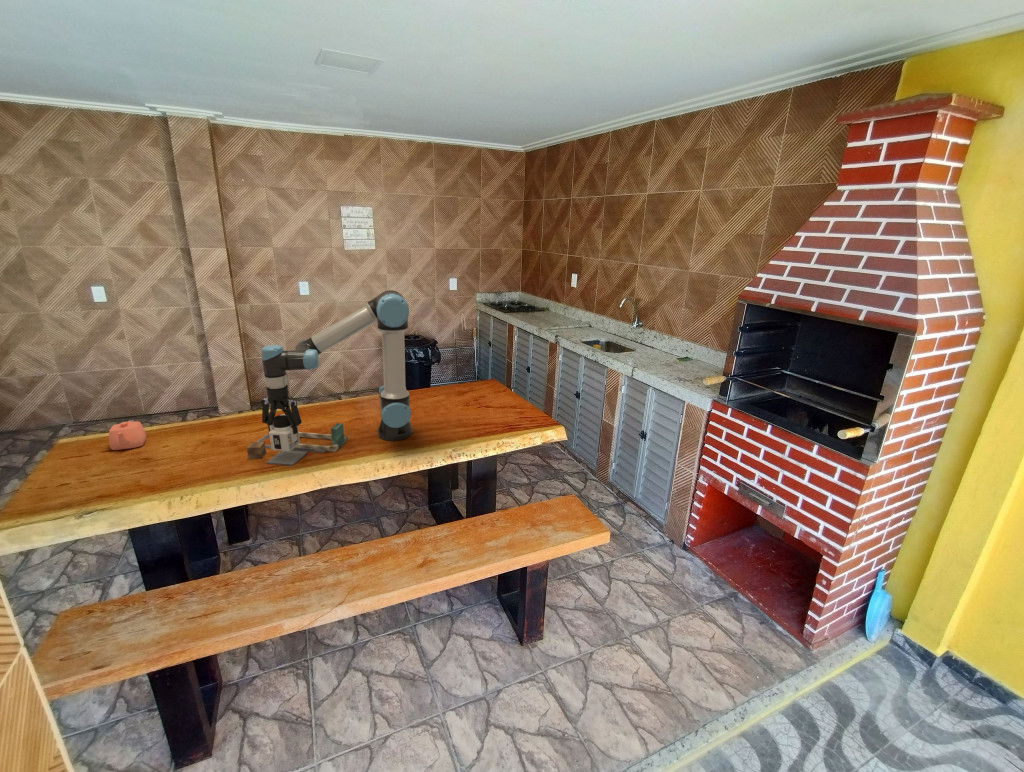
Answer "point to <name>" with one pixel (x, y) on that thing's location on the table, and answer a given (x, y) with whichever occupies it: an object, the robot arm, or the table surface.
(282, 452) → the coaster
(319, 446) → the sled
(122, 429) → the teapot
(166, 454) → the table surface
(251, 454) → the walnut cube
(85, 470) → the table surface
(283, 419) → the container
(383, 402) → the robot arm
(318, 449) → the lanes
